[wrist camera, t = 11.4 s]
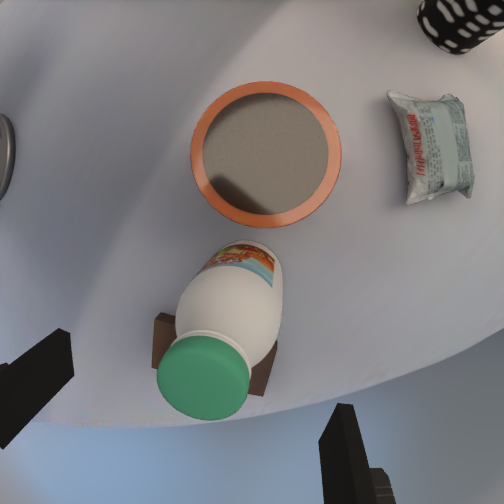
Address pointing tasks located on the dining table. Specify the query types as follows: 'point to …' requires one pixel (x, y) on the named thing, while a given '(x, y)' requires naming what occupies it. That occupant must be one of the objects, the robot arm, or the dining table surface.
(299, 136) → the flower pot
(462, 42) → the white-spotted black cylinder
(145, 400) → the dining table surface
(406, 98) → the packaged food
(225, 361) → the milk bottle
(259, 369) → the walnut board
